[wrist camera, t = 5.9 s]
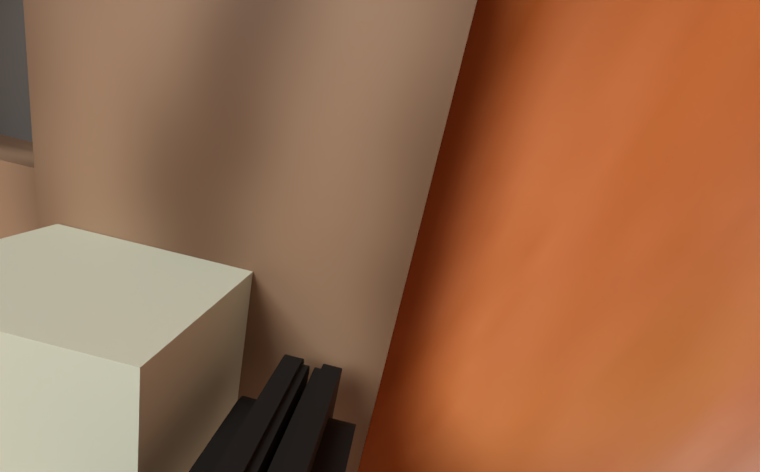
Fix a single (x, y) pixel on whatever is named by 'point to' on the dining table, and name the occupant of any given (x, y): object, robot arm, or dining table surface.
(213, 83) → the box
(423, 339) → the dining table surface
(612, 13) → the dining table surface
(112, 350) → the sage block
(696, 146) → the dining table surface
